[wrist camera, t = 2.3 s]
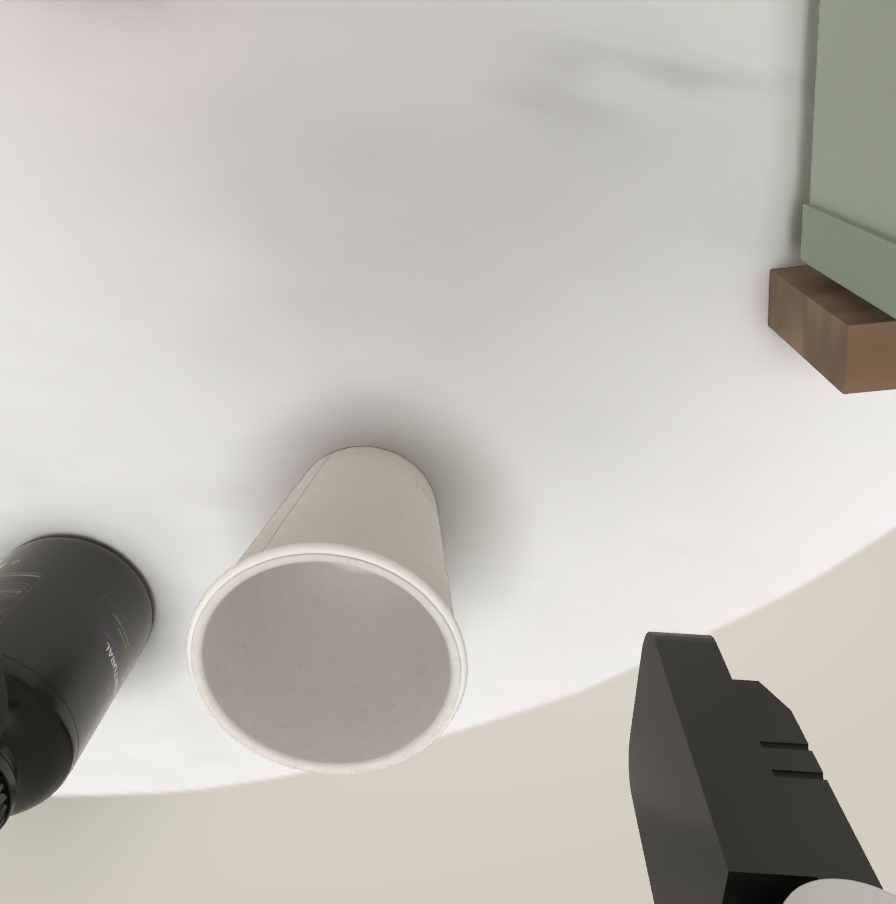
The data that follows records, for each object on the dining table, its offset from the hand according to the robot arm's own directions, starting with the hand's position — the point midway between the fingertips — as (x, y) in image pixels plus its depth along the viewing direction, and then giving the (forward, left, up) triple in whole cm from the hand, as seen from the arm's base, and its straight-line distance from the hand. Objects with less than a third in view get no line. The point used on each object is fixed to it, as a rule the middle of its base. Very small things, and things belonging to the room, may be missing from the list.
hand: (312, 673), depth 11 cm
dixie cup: (+9, -4, -22) cm, 24 cm away
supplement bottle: (+12, -17, -22) cm, 30 cm away
